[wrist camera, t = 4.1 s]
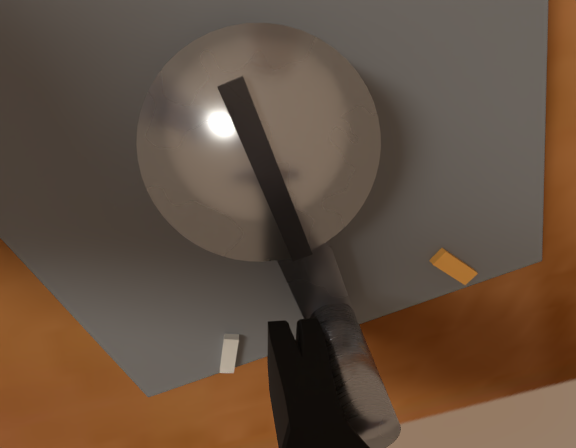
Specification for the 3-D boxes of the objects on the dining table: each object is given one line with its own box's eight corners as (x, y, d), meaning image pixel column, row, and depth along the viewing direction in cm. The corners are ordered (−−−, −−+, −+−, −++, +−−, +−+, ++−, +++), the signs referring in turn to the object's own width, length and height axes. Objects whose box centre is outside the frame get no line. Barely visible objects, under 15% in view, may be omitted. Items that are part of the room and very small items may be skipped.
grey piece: (111, 76, 9) (-19, 115, 5) (326, -13, 9) (416, -68, 4) (265, 344, 14) (275, 486, 10) (402, 296, 14) (479, 420, 9)
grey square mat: (-265, -101, 8) (-353, -124, 7) (520, -485, 7) (576, -593, 5) (153, 378, 16) (146, 403, 15) (524, 248, 15) (547, 265, 14)
